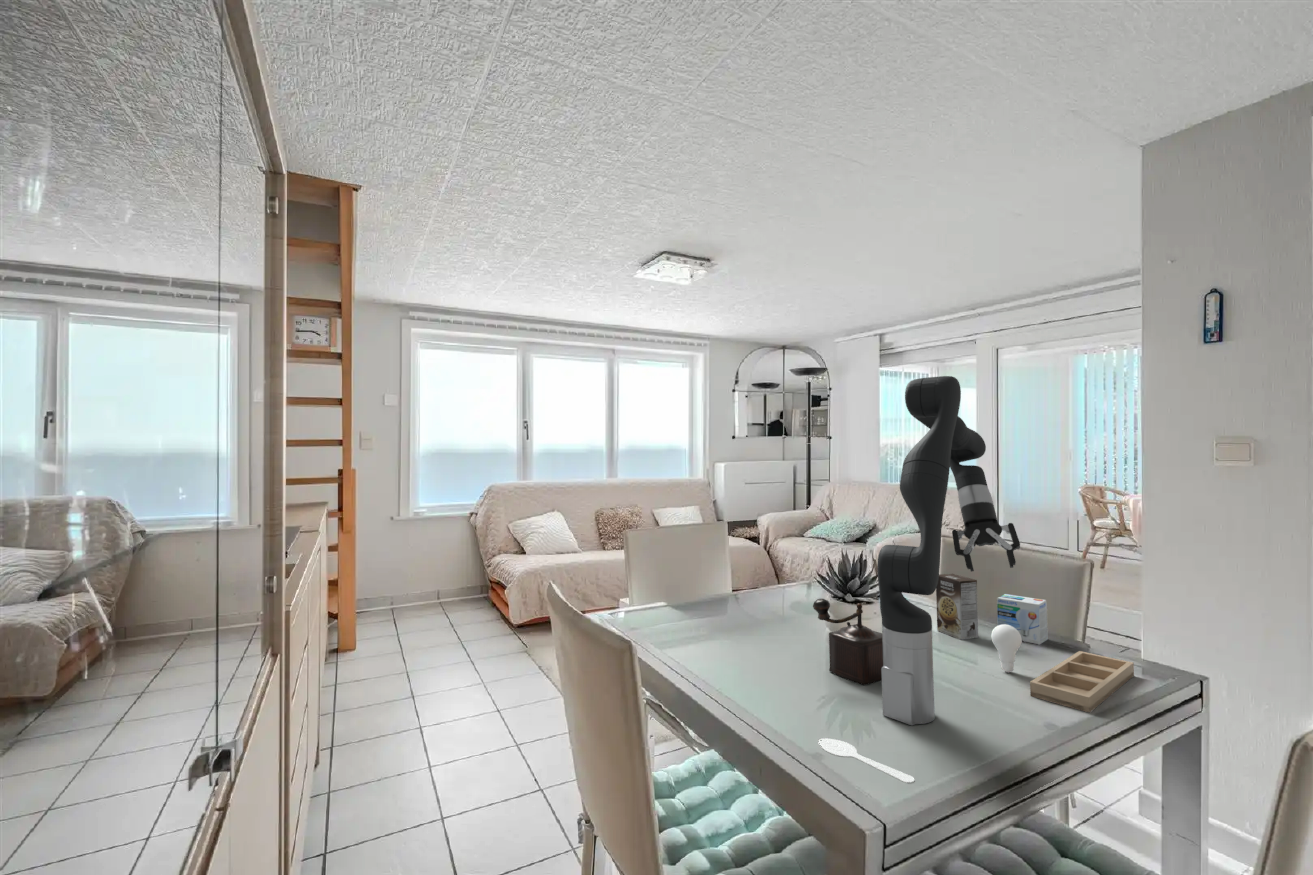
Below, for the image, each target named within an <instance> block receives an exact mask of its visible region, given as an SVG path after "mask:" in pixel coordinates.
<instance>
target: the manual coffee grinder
mask: <svg viewBox="0 0 1313 875" xmlns="http://www.w3.org/2000/svg"><path fill="white" fill-rule="evenodd" d="M812 608H813V610H814V611H815V612H817V615H818V616H817V619H818V620H819V621H825V622H827V623H832V624H842V623H846V625H847V626H843V627H840V629H838V630H834V631H830V632H828V647H829V648H828V652H829V655H828V656H829V669H828V670H829V672H831V673H832V674H834V675H835V676H838V677H840V678H842V679H845V680H847V681H849V682H852V683H854V684H855V683H856V684H857V685H861V686H867V685H871V684H874V683H877V682H880V681H881V682H882V672H881V668H882V667H883V642H882V632H879V631H877V630H876V631H875V630H872V628H869V627H868V626H865V625H863V623H862V614H863V613H864V610H863V604H862V603H856V611H855V612H854V613H853V614H851V615H849V616H846V617H843V618H840V619H835V618H831V614H829V610H830V608H831V602H830V601H829V600H828V599H825V598H818V599H816V600H815V601H813V604H812ZM855 618H857V623H856V624H855V623H854V624H851V622H849V621H851V620H853V619H855Z"/></svg>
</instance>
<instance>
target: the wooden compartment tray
mask: <svg viewBox="0 0 1313 875" xmlns="http://www.w3.org/2000/svg"><path fill="white" fill-rule="evenodd" d="M1134 665H1135V664H1134V662H1132V661H1128V660H1122V659H1119V658H1113V657H1110V656H1105V655H1099V654H1095V653H1091V652H1085V651H1082V650H1078V651H1077V652H1075V653H1073V654H1072V655H1070V656H1069V657H1068V658H1066V659H1064V660H1063V661H1061V662H1059V663H1057V664H1056V665H1055V666H1052V667H1050V669H1048V670H1046V671H1045V672H1043V673H1042V674H1040V675H1038V676H1036V678H1034V679H1032V680H1030V681H1029V689H1030V692H1029V693H1030V694H1029V695H1030V697H1033V698H1036V699H1039V700H1043V701H1046V702H1051V703H1054V704H1057V705H1060V706H1065V707H1068V708H1071V709H1074V710H1075V709H1076V710H1078V711H1082V712H1085V713H1092V712H1093V711H1094V710H1095V709H1096V708H1097V707H1099V706H1100V705H1101V704H1102V703H1103V702H1104V701H1106V700H1107V699H1109V697H1110V696H1112V695H1113V694H1115V692H1117V691H1118V690H1119V689H1120V688H1121V687H1123V686H1124V685H1125V684H1126V683H1128V682H1130V680H1131V679H1132V678H1134V676H1135V670H1134V669H1135V666H1134Z"/></svg>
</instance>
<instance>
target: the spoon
mask: <svg viewBox="0 0 1313 875" xmlns="http://www.w3.org/2000/svg"><path fill="white" fill-rule="evenodd" d="M820 740H822V741H820ZM818 741H819V742H818ZM819 743H820V744H819ZM817 744H818V746H819V745H821V746H822V747H821V746H819V747H820V748H821V749H822V750H823V749H824V750H823V751H825V752H826V751H827V752H826V753H828V754H830V753H831V755H833V756H836V757H841V758H842V757H843V758H854V759H856V760H859V761H860V762H863V763H864V764H866V765H868V766H870V767H872V768H875V769H876V770H879V771H880V772H882V773H884V774H886V775H888V776H891V777H892V778H894V779H897V780H899V781H900V782H903V783H906V784H911V783H914V782H915V778H914V776H912V775H910V774H909V773H908V774H907V773H905V772H902V771H901V770H898V769H896V768H893V767H891V766H888V765H886V764H883V763H880V762H877V761H876V760H873V759H872V758H869V757H865V756H864V755H861V754H859V753H858V751H857V750H858V749H857V748H856V747H855V746H854V745H853V744H851V743H850V742H849V743H848V742H847V741H843V740H839V739H836V738H831V737H830V738H829V737H828V738H827V737H824V738H823V737H822V738H820V739H818V740H817Z"/></svg>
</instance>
